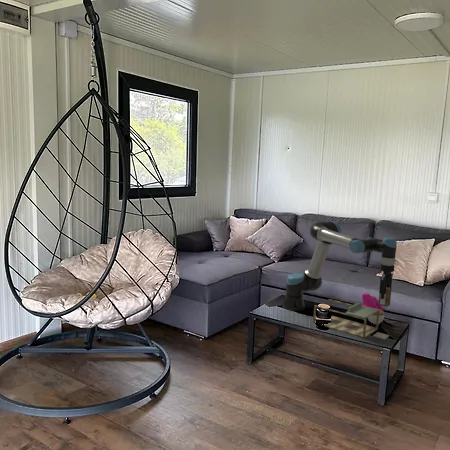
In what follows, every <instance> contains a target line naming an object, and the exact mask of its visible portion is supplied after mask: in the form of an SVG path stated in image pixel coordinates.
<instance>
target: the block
mask: <svg viewBox="0 0 450 450" xmlns="http://www.w3.org/2000/svg"><path fill="white" fill-rule="evenodd" d="M378 293H379V292H378ZM385 294H386V298H385V305H383V304H380V296H381V293H379V294H378V301H379V303H378V305H381V306H382V307H385V308H388V307H389V306H391V297H392V287H391V288H390V287H386V292H385Z"/></svg>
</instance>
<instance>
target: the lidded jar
mask: <svg viewBox="0 0 450 450" xmlns="http://www.w3.org/2000/svg"><path fill="white" fill-rule="evenodd" d="M375 309H377V308H375ZM378 311H379V322H378V325H380V324H381V323H382V322H383V321H384V318H385V310H384V309H382V310H381V309H378ZM366 319H367V321H368V322H369V323H370V322H371V323H370V324H372V323H373V325H376V320H377V312H375V313H374V314H372V315H370V316H369V317H367V318H366Z"/></svg>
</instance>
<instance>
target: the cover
mask: <svg viewBox="0 0 450 450" xmlns="http://www.w3.org/2000/svg"><path fill="white" fill-rule="evenodd" d="M352 305H353V306H349V307H348V308H347V311H345V313H346V314H349V315H353V316H357V317H361V318H364V319H368V318H367V317H369V316H370V315H372V314H374V313H375V312H377V311H378V309H374V308H370V307H366V306H362V302H361V301H359V302H357V303H355V304H352Z"/></svg>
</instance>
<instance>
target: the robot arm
mask: <svg viewBox="0 0 450 450" xmlns="http://www.w3.org/2000/svg"><path fill="white" fill-rule="evenodd" d="M309 233H310V236H311V238H313V239H314V240H316V241H317V243H316V246H315V249H314V251H313V255H312V257H311V260H310V263H309V266H308V268H307V269H305V270H304V273H303V274H302V273H300V272H299V273H298V272H296V273H295V272H294V273H290V274H288V275H287V277H286V287H285V288H286V289H285V297H284V299H283V302H282V308H283V309H285V310H287V311H291V312H292V311H293V312H300V311H303V310H305V308H306V306H305V301H304V298H303V297H304V293H307V292H314V291H317V290H320V289H321V287H322V286H323V279H322V274H321V272H322V269H323V267H324V263H325V261H326V258H327V256H328V253H329V250H330V248H331V246H332V245H335V246H339V247H342V248H343V249H344V248H345V249H348V250H350V251H351V253H353V254H362V253H369V252H370V253H372V252H376V253H381V258H380V263H381V264H380V271H381V272H382V275H380V280H379V281H380V282H379V292H378V293H381V296H380V304H383V305H385V298H386V294H385V292H386V287H390V288H392V287H393V284H392V283H393V275H394V272H395V268H396V267H395V264H396V261H397V260H396V253H397V241H398V240H397V239H396V238H394V237H388V236H387V237H385V236H384V237H383V239H381V238H376V237H367V238H364V239H361V238H357V237H354V236H351V235H347V234H344V233H342V229H341V225H340V224H339V223H338V222H336V221H331V220H329V221H320V222H319V221H317V222H314V223H313V224H312V225H311V226H310V228H309Z"/></svg>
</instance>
